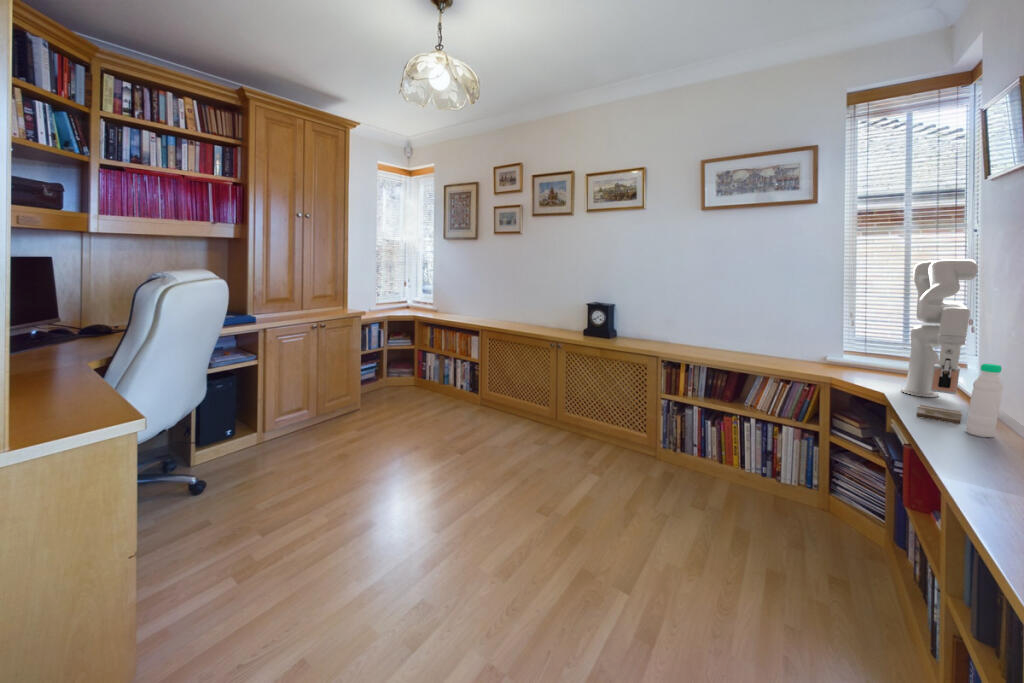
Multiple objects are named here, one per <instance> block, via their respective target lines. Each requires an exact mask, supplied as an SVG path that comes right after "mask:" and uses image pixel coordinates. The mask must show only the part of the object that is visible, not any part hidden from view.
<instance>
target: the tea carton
mask: <svg viewBox="0 0 1024 683" xmlns="http://www.w3.org/2000/svg"><path fill="white" fill-rule="evenodd" d="M941 369H942V368H941ZM941 369H940V368H939V363H938V364H935V365H934V371H933V378H932V385H931V391H933V392H937V393H942V394H949V395H957V390H958V384H959V376H960V371H961V366H958V368H957V370H956V371H955V370H954V369H952V371H951V377H950V378H951V384H950V388H943V387H938V384H939V377H940V376H941ZM943 369H944V366H943ZM949 369H951V368H949ZM948 372H949V371H948ZM948 378H949V377H948Z"/></svg>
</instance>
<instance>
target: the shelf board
mask: <svg viewBox="0 0 1024 683" xmlns="http://www.w3.org/2000/svg"><path fill="white" fill-rule="evenodd" d="M962 414H963V413H962V410H955V409H950V408H949V409H948V408H942V407H936V406H931V405H923V404H920V405H917V409H916V416H918V417H917V418H921V417H923V418H922V419H927V418H929V420H933V419H934V421H938V420H940V422H944V421H945V423H950V422H951V423H950V424H956V425H961V421H962Z"/></svg>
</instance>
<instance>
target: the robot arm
mask: <svg viewBox="0 0 1024 683" xmlns="http://www.w3.org/2000/svg"><path fill="white" fill-rule="evenodd" d="M978 270H979V268H978V264H977V262H976V261H975V260H974V259H971V258H970V259H969V258H968V259H967V258H966V259H965V258H964V259H962V258H961V259H959V258H958V259H940V260H927V261H921V262H918V263H916V264H915V265H914V268H913V273H912V276H913V277H912V279H913V282H914V285H915V287H916V291H917V297H916V298H917V299H916V302H917V303H916V319H917V320H918V321H920V322H922V323H924V324H922V325H916V326H914V327H913V328H912V329H911V330H910V356H909V357H910V358H909V363H908V371H907V378H906V384H905V387H902V388H901V389H900V391H901V392H902V393H903V392H904V393H903V394H906V393H907V394H906V395H909V394H911V395H910V396H914V395H915V397H921V396H922V397H923V398H937V397H939V392H933V391H931V385H932V378H933V371H934V365H935V364H939V368H940V369H941V368H942V369H941V376H940V377H939V384H938V387H943V388H950V384H951V378H950V377H951V371H952V369H954V370H955V371H956V370H957V368H958V367H959V362H960V356H961V350H962V348H961V347H962V346H964V345H965V344H966V340H967V335H968V334H967V333H968V326H969V321H970V317H971V310H970V308H968V307H967V306H966V305H965V304H964V303H962V302H960V301H945V300H944V299H946V298H949V297H951V296H955V295H956V294H957V293H958V292H959V291H960V290H961V285H960V281H971V280H974V279H975V278H976V276H977V275H978ZM935 324H936V325H935ZM933 348H940V350H939V354H938V353H937V352H936V351H935V350H934V349H933ZM943 366H944V369H943ZM949 368H951V369H949ZM948 371H949V372H948ZM948 377H949V378H948ZM922 397H921V398H922Z"/></svg>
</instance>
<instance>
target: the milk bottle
mask: <svg viewBox="0 0 1024 683" xmlns="http://www.w3.org/2000/svg"><path fill="white" fill-rule="evenodd" d="M980 372H981V374H980V375H979V376H977V379H975V380H974V381H973V383H972V387H973V388H972V391H971V396H970V401H969V412H968V414H967V422H966V425H965V432H966V433H967V434H969V435H971V434H972V436H974V435H975V436H976V437H979V436H980V437H979V438H986V437H990V438H993V437H995V435H996V427H997V424H998V414H999V411H1000V407H1001V403H1002V402H1001V401H1002V393H1003V389H1004V385H1003V383H1002V381H1001V378H1000V377H999V375H1000V374H1001V373H1002V366H1001V365H999V364H995V363H981V365H980Z"/></svg>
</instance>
